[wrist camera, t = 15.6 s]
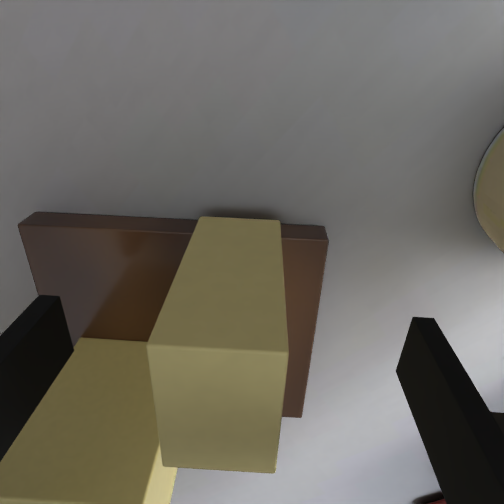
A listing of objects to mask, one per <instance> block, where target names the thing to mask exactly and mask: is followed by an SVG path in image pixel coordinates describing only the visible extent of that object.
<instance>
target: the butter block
mask: <svg viewBox="0 0 504 504" xmlns="http://www.w3.org/2000/svg"><path fill="white" fill-rule="evenodd" d="M146 345H147V342H143V341H128V340H112V339H97V338H82V337H81V338H80V339H79V340H78V342H77V343H76V345H75V346H74V352H73V353H72V355H71V356H70V358H69V359H68V361H67V362H66V364H65V365H64V367H63V368H62V370H61V371H60V373H59V374H58V376H57V377H56V379H55V380H54V382H53V383H52V385H51V386H50V388H49V389H48V391H47V393H46V394H45V396H44V397H43V399H42V400H41V402H40V403H39V405H38V406H37V408H36V409H35V411H34V412H33V414H32V415H31V417H30V418H29V420H28V421H27V423H26V424H25V426H24V427H23V429H22V430H21V432H20V433H19V435H18V436H17V438H16V439H15V441H14V442H13V444H12V445H11V447H10V448H9V450H8V451H7V453H6V454H5V456H4V457H3V459H2V460H1V462H0V504H170V500H171V496H172V491H173V487H174V482H175V478H176V473H177V468H176V467H164V466H163V465H162V458H161V450H160V443H159V436H158V428H157V421H156V414H155V407H154V399H153V392H152V385H151V378H150V370H149V363H148V356H147V349H146Z"/></svg>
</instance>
